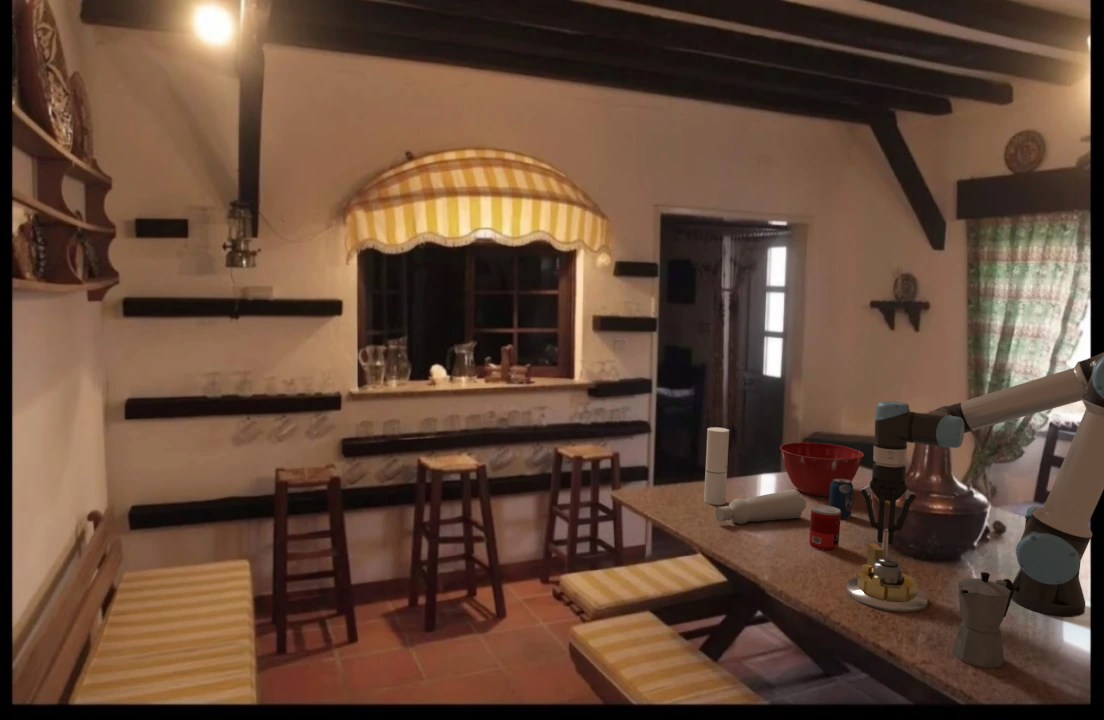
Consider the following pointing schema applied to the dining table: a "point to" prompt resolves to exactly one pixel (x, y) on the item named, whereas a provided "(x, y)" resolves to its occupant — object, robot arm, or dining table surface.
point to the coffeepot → (982, 620)
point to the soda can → (841, 496)
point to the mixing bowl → (819, 465)
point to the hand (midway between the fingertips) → (884, 555)
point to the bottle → (763, 507)
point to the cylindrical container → (716, 466)
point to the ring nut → (875, 583)
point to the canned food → (825, 527)
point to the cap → (891, 576)
